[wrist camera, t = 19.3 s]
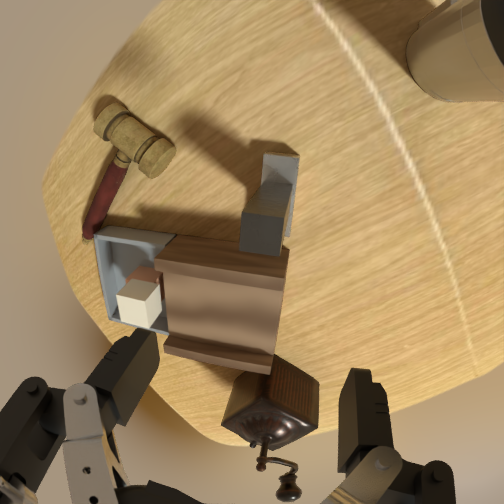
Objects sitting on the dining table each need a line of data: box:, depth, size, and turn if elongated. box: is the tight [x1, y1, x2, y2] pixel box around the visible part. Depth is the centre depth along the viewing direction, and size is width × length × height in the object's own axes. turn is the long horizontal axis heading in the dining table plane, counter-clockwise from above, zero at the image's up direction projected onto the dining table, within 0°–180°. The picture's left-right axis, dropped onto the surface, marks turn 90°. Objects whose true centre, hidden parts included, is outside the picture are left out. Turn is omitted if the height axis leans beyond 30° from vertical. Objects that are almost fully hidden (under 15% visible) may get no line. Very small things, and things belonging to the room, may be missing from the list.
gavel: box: [82, 103, 176, 245], centre depth 37 cm, size 21×5×10 cm
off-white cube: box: [116, 279, 162, 329], centre depth 36 cm, size 4×4×4 cm
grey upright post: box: [239, 151, 300, 257], centre depth 28 cm, size 9×4×14 cm, turn 176°
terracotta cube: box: [125, 266, 165, 302], centre depth 40 cm, size 4×4×4 cm
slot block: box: [154, 235, 290, 375], centre depth 38 cm, size 14×14×7 cm
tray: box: [94, 225, 176, 335], centre depth 41 cm, size 14×11×4 cm
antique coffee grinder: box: [221, 354, 320, 502], centre depth 39 cm, size 16×11×18 cm
